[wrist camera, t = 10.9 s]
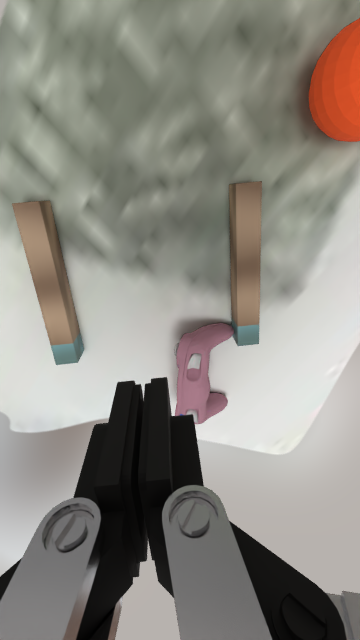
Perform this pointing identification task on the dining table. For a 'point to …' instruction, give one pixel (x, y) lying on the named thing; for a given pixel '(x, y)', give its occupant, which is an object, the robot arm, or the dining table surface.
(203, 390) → the video game controller
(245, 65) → the dining table surface
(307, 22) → the dining table surface
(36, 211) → the channel
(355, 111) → the clementine
